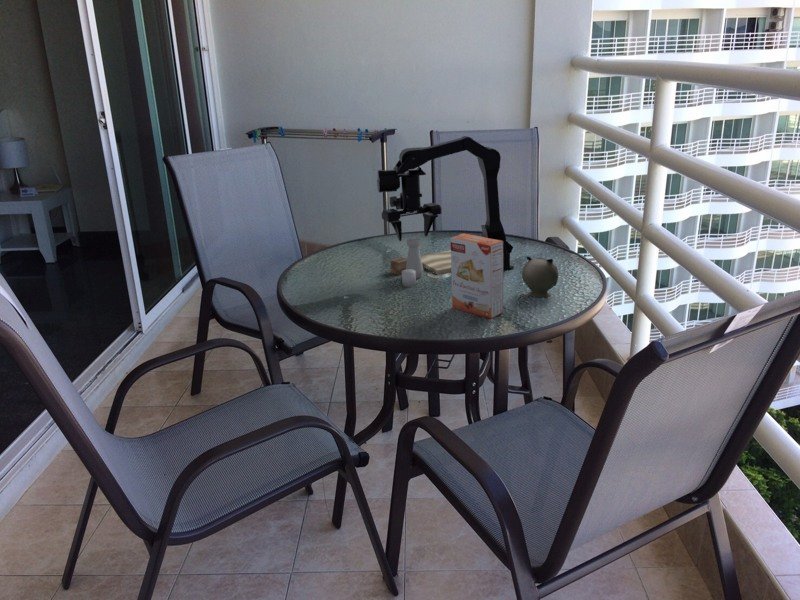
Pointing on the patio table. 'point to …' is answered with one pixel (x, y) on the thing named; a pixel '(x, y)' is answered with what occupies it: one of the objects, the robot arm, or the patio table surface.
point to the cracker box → (477, 275)
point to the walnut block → (398, 265)
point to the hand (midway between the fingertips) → (413, 238)
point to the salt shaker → (414, 256)
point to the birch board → (437, 262)
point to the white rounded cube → (409, 277)
